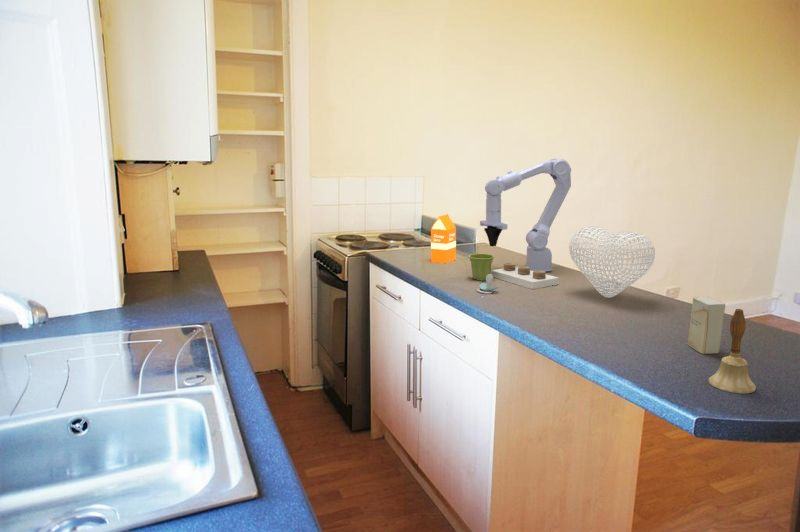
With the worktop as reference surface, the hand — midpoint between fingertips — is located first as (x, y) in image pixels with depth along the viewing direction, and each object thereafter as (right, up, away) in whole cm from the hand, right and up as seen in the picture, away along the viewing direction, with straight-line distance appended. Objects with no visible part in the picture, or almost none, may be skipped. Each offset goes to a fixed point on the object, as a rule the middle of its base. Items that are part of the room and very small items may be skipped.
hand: (493, 245), depth 215 cm
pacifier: (-7, -17, -27) cm, 33 cm away
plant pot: (-6, -13, -8) cm, 16 cm away
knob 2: (+13, -15, -19) cm, 28 cm away
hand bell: (+31, -32, -103) cm, 112 cm away
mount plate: (+9, -13, -13) cm, 20 cm away
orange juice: (-17, -6, +25) cm, 31 cm away
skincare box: (+36, -28, -84) cm, 95 cm away
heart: (+31, -18, -37) cm, 52 cm away
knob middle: (+9, -13, -13) cm, 20 cm away
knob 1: (+5, -12, -6) cm, 14 cm away
